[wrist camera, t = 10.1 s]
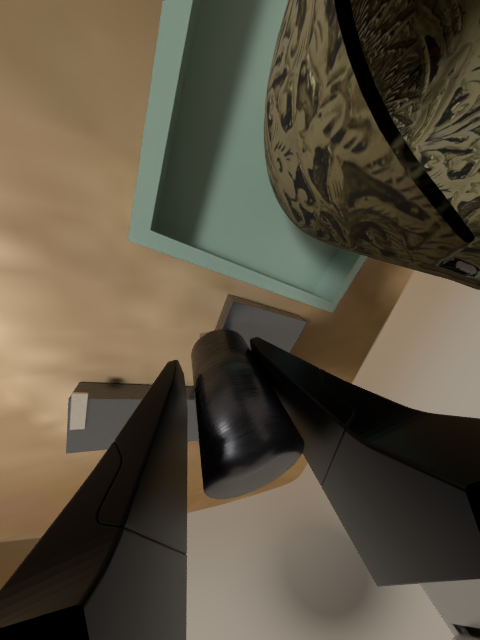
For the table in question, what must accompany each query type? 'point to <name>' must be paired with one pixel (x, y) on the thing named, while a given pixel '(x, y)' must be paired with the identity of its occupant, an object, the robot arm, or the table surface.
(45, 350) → the table surface
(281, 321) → the grey l-bracket
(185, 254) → the tray
